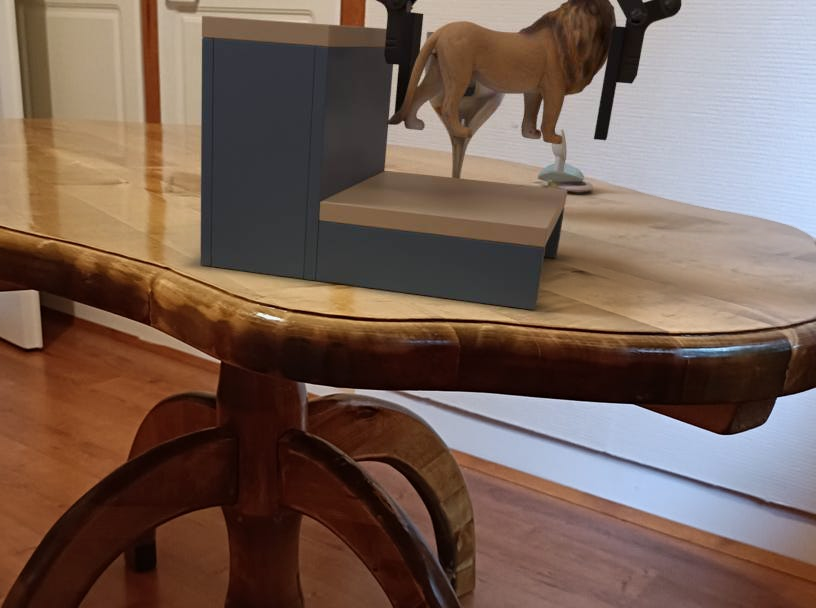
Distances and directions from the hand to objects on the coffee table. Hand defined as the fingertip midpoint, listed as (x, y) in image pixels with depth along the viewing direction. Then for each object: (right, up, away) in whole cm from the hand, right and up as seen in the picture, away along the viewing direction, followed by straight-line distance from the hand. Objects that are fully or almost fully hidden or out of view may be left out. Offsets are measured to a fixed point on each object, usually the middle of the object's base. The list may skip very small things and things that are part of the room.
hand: (499, 129), depth 63 cm
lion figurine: (0, -1, 0) cm, 1 cm away
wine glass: (0, +2, +28) cm, 28 cm away
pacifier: (+15, +8, +44) cm, 47 cm away
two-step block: (-7, -8, +5) cm, 11 cm away
